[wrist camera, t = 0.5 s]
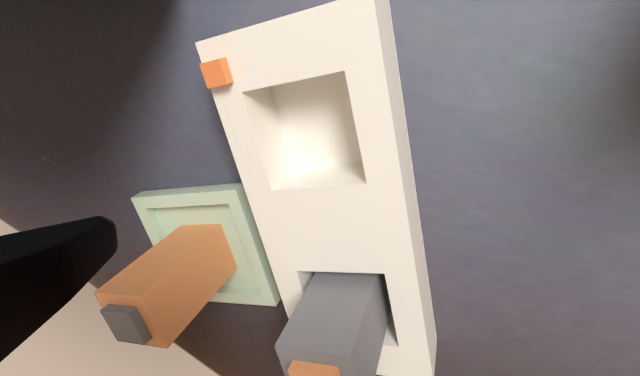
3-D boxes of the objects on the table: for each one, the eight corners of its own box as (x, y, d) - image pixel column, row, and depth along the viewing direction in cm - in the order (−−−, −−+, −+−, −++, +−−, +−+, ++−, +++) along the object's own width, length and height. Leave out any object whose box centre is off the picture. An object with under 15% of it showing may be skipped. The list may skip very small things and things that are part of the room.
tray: (282, 295, 29) (276, 306, 28) (187, 289, 33) (178, 298, 32) (244, 182, 25) (235, 189, 24) (142, 191, 29) (130, 198, 28)
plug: (237, 267, 28) (160, 356, 21) (198, 266, 30) (114, 348, 23) (221, 223, 27) (132, 303, 20) (180, 225, 28) (84, 299, 21)
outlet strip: (437, 338, 25) (432, 391, 22) (319, 327, 29) (300, 370, 25) (388, -8, 17) (368, -11, 14) (233, 37, 21) (186, 43, 17)
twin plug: (392, 302, 24) (363, 427, 17) (338, 298, 26) (289, 411, 19) (383, 253, 23) (346, 367, 16) (325, 252, 24) (268, 356, 17)
